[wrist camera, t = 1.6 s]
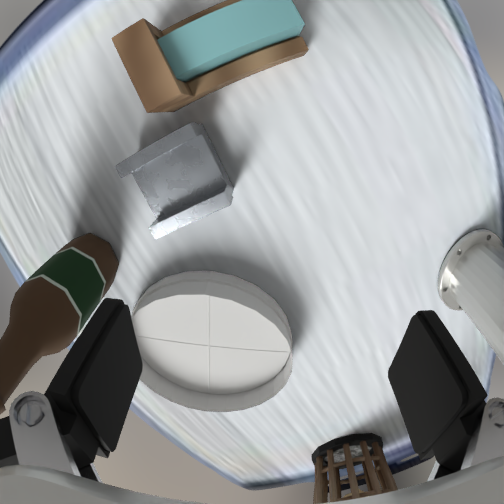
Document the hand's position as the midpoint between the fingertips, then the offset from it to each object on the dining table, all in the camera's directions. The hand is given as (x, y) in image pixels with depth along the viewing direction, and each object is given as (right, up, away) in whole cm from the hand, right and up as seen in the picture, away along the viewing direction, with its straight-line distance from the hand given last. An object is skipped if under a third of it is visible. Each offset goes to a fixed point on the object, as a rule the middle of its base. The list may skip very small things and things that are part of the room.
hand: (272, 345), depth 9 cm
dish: (-6, -9, +31) cm, 33 cm away
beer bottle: (-21, +2, +26) cm, 33 cm away
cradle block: (-8, +11, +21) cm, 25 cm away
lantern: (+21, -42, +46) cm, 66 cm away
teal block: (-3, +21, +11) cm, 24 cm away
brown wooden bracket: (-4, +23, +15) cm, 27 cm away
